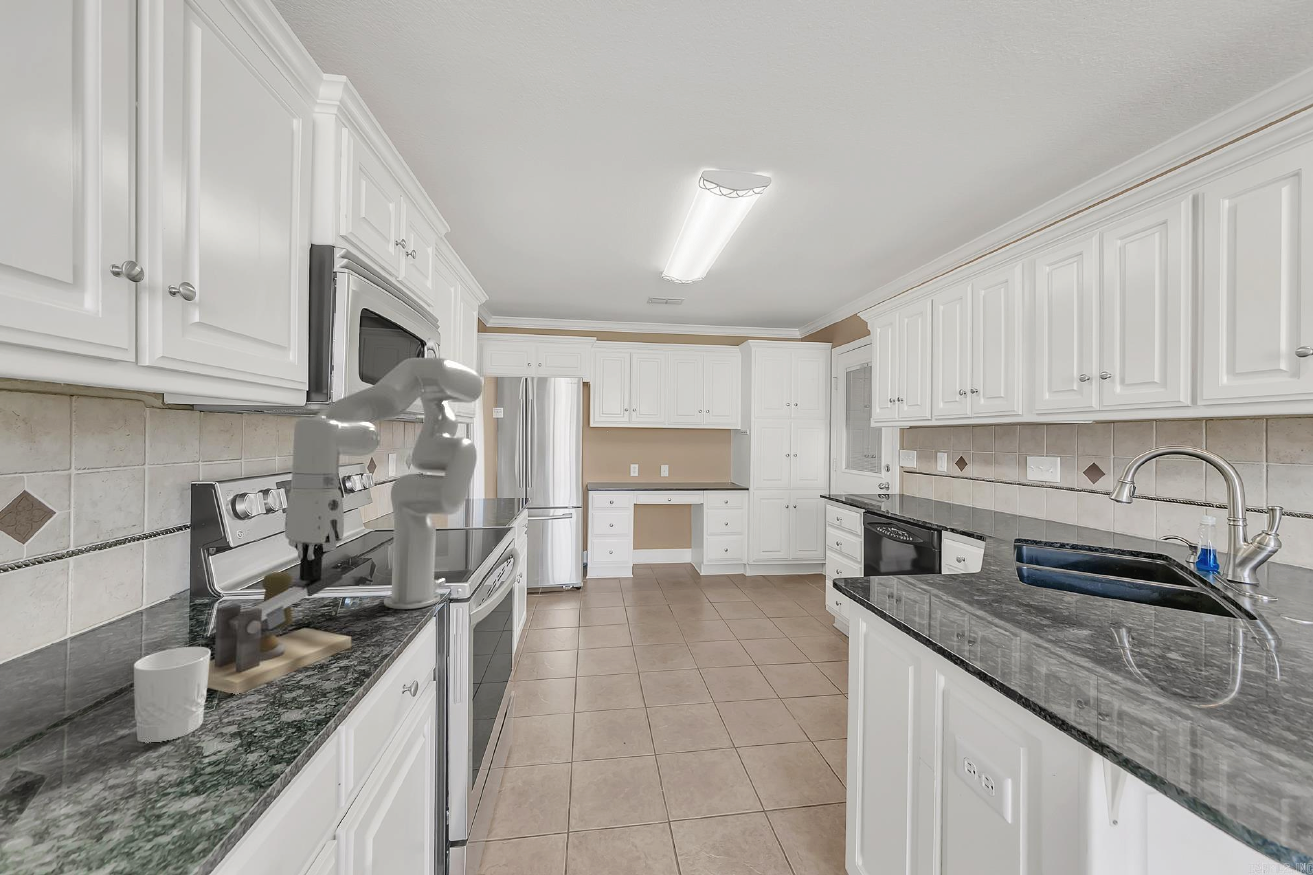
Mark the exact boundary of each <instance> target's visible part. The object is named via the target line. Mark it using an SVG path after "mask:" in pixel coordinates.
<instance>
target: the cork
mask: <svg viewBox="0 0 1313 875" xmlns="http://www.w3.org/2000/svg"><path fill="white" fill-rule="evenodd" d="M292 583H293V575H292V574H291V573H289V572H287V571H276V572H271V573H268V574H266V575H264V577H263V579H262V588H263V589H264V590H265V591H264V596H263V602H265V601H267V600H269V599H271V598H273V597H275V596H277V595H279V594H281V593H283V592H284V591H286V590H288V589H290V586H291V585H292ZM263 602H262V603H263ZM283 610H284V614H285V619H286V621H284V622H282V623H280V624H279V625H277V626H275V627H273V628H272V629H271V630H276V629H277V628H278V629H281V628H280V627H283V628H286V627H289V626H291V625H292V624H293V622H294V621H293V613H292V605H290V606H288V607H286V608H284V609H283ZM291 623H292V624H291ZM290 624H291V625H290ZM288 625H289V626H288ZM285 626H286V627H285ZM278 629H277V630H278ZM261 630H264V629H263V628H261Z"/></svg>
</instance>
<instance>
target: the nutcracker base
mask: <svg viewBox="0 0 1313 875" xmlns="http://www.w3.org/2000/svg"><path fill="white" fill-rule="evenodd" d="M251 609H252V608H251ZM241 610H242V605H241V604H237V603H235V604H231V605H229V606H224V607H219V608H216V618H215V619H216V621H215V622H216V623H215V640H214V641H215V646H214V659H212V660H211V659H210V665H209V676H208V686H207V689H212V690H216V691H218V692H219V691H220V692H224V693H228V694H231V693H233V694H232V695H234V694H235V696H238V695H240V694H239V693H241V694H242V693H245V692H248V691H249V690H251V689H252V690H253V689H255V688H257V687H259V686H262V685H264V684H266V683H270V682H271V681H274V680H276V679H278V678H280V677H283V676H285V675H288V674H290V673H293V672H295V671H297V670H300V669H302V668H304V667H307V666H309V665H312V664H315V663H317V662H319V661H321V660H324V659H326V658H328V657H331V656H334V655H335V654H338V653H340V652H343V651H345V650H347V649H350V648H351V647H352V636H348V635H344V634H338V633H334V632H329V631H324V630H319V629H318V630H317V629H314V628H313V629H312V628H307V627H304V628H301V629H297V630H295V631H293V632H292V631H291V632H289V633H286V634H283V635H281V636H276V635H274V634H272V633H271V634H265V635H263V636H262V629H261V620H262V609H259V608H255V609H252V610H250V609H248V610H245V611H242V612H241ZM236 616H238V628H237V630H236V629H231V628H230V625H229V621H228V620H230V619H232V618H234V617H236ZM237 694H238V695H237Z"/></svg>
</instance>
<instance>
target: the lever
mask: <svg viewBox="0 0 1313 875" xmlns="http://www.w3.org/2000/svg"><path fill="white" fill-rule="evenodd" d="M341 580H343V575H342V570H341V569H338V568H333V567H332V568H331V567H325V568H323V569H322V570H321V578H319V579H315V580H311V581H302V580H299V581H298V582H296V583H294V585H293V587H291V588H290V587H289V589H288V590H286V591H284V592H283V593H281V594H279V595H277V596H275V597H273V598H271V599H269V600H267V601H265V602H262V603H260V604H257V605H256V606H253V607H252V608H249V610H252V609H255V608H259V609H262V620H261V628H263V629H262V630H266V629H268V630H273V629H272V628H273V627H275V626H277V625H279V624H280V623H282V622H284V621H286V619H285V614H284V610H283V609H284V608H286V607H288V606H290V605H291V606H292V605H293V604H295V603H297V602H298V601H301V600H303V599H304V598H306V597H312V596H314V595H315V594H318V593H319V592H321V591H323V590H325V589H326V588H328V587H330V586H332V585H334V584H335V583H338V582H340V581H341ZM228 621H229V625H230V628H231V629H236V630H237V628H238V616H236V617H234V618H232V619H230V620H228Z"/></svg>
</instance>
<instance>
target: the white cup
mask: <svg viewBox="0 0 1313 875" xmlns="http://www.w3.org/2000/svg"><path fill="white" fill-rule="evenodd" d="M211 653H212V651H211V649H209V648H208V647H203V646H185V647H177V648H173V649H172V648H170V649H165V650H162V651H158V652H154V653H151V654H149V655H146V656H144V657H142V658H140V659H138V660H137V661H135V662H134V664H133V700H134V719H135V721H136V739H137V742H141V743H143V742H145V743H144V744H152V743H151V742H160V743H163V742H162V741H165V742H168V741H167V740H169V741H173V739H174V740H177V739H179V738H181V737H184V736H187V735H189V734H191V733H192V732H195V731H196V730H198V728H200V726H201V725H202V724H203V721H204V712H205V711H204V710H205V703H206V700H207V690H208V687H207V686H208V676H209V665H210V661H211ZM178 737H179V738H178ZM149 742H150V743H149Z"/></svg>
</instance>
